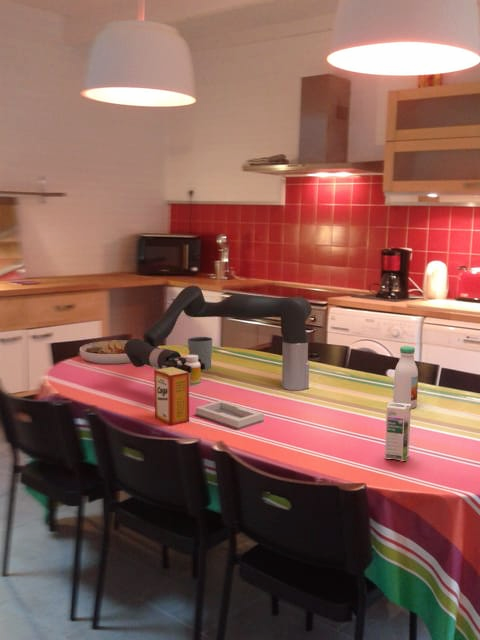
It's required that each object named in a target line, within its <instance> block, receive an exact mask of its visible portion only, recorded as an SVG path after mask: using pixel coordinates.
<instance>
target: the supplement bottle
mask: <svg viewBox="0 0 480 640" xmlns="http://www.w3.org/2000/svg"><path fill="white" fill-rule="evenodd" d="M185 358H186V361H187V362H185V364H184V365H188V366H191V373H189V387H198V386H200V385H201V384H202V376H201V375H202V374H201V372H202V370H201V365H200V363H199V362H198V355H189V354H187V355H186V357H185Z"/></svg>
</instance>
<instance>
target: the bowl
mask: <svg viewBox="0 0 480 640" xmlns="http://www.w3.org/2000/svg"><path fill="white" fill-rule="evenodd" d="M127 341H128V340H125V339H124V340H121V339H120V340H118V339H112V340H103V341H94V342H91V343H86V344H84V345H82V346H80V347H79V353H80V356H81V357H82V359H83V360H85V361H86V362H89V363H92V364H93V363H94V364H99V365H123V364H130V363H131V361H130V359H129V358H128V356H127V354H126V353H125V350H124V346H125V344H126V342H127ZM131 364H132V363H131Z"/></svg>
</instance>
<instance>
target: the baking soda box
mask: <svg viewBox="0 0 480 640" xmlns="http://www.w3.org/2000/svg"><path fill="white" fill-rule="evenodd" d="M153 374H154V375H153V376H154V378H153V379H154V380H153V381H154V419H156V420H158V421H160V422H162V423H164V424H165V425H169V426H170V427H171V426H177V425H180V424H184V423H185V424H186V423H189V422H190V386H189V373H188V372H186V371H183V370H180V369H177V368H174V367H168V368H162V369H156V368H155V369H154V373H153Z"/></svg>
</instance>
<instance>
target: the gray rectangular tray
mask: <svg viewBox="0 0 480 640" xmlns="http://www.w3.org/2000/svg"><path fill="white" fill-rule="evenodd" d="M195 416H197V417H200V418H203V419H206V420H207V421H211V422H215V423H218V424H220V425H224V426H226V427H229V428H232V429H235V430H241V429H244V428H247V427H251V426H253V425H257V424H259V423H260V424H261V423H263V422H264V412H260V411H257V410H254V409H250V408H247V407H243V406H240V405H237V404H234V403H230V402H227V401H224V400H219V401H215V402H211V403H208V404H203V405H199V406H196V407H195Z"/></svg>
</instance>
